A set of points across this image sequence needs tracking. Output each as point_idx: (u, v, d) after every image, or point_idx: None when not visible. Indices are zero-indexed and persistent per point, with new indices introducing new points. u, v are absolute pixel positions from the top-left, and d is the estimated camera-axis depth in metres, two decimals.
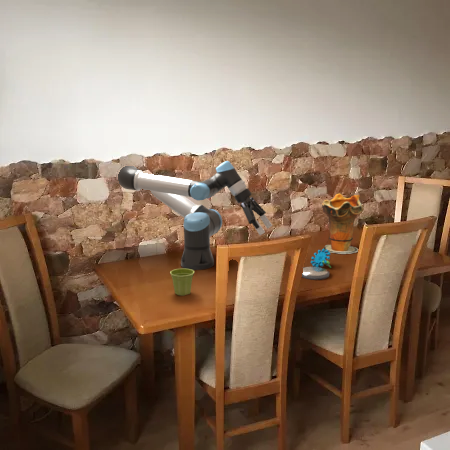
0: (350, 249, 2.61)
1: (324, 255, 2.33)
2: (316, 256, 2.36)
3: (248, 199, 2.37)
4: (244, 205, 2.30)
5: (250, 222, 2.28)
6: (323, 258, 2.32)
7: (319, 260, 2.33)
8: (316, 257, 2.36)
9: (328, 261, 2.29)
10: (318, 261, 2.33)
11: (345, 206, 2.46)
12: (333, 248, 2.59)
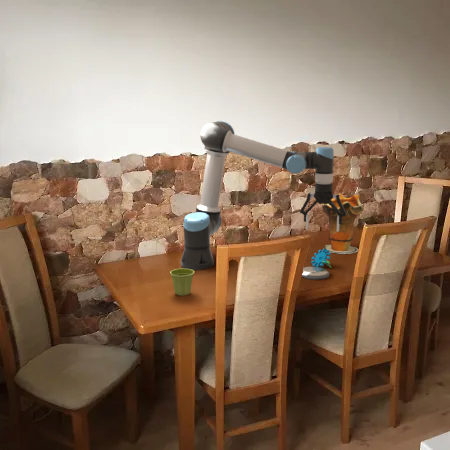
0: (350, 249, 2.61)
1: (324, 255, 2.33)
2: (316, 256, 2.36)
3: None
4: (339, 197, 2.26)
5: (345, 215, 2.25)
6: (323, 258, 2.32)
7: (319, 260, 2.33)
8: (316, 256, 2.36)
9: (328, 261, 2.29)
10: (318, 261, 2.33)
11: (345, 206, 2.46)
12: (333, 248, 2.59)
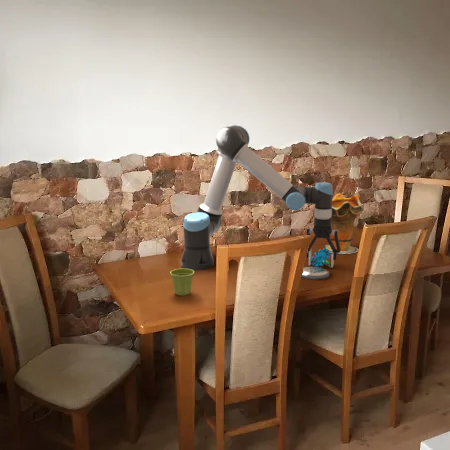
0: (350, 249, 2.61)
1: (324, 255, 2.33)
2: (316, 256, 2.37)
3: None
4: (337, 233, 2.29)
5: None
6: (323, 258, 2.33)
7: (319, 260, 2.34)
8: (316, 256, 2.36)
9: (327, 261, 2.29)
10: (318, 261, 2.34)
11: (345, 206, 2.46)
12: None
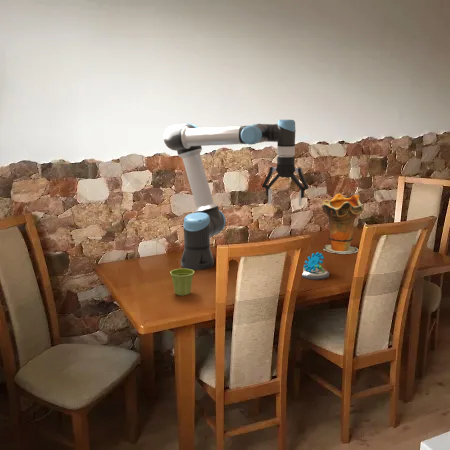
0: (350, 249, 2.61)
1: (317, 259, 2.21)
2: (309, 260, 2.25)
3: None
4: (301, 170, 2.22)
5: None
6: (316, 262, 2.21)
7: (312, 264, 2.22)
8: (309, 260, 2.25)
9: (320, 265, 2.17)
10: (311, 265, 2.22)
11: (345, 206, 2.46)
12: (333, 248, 2.59)
